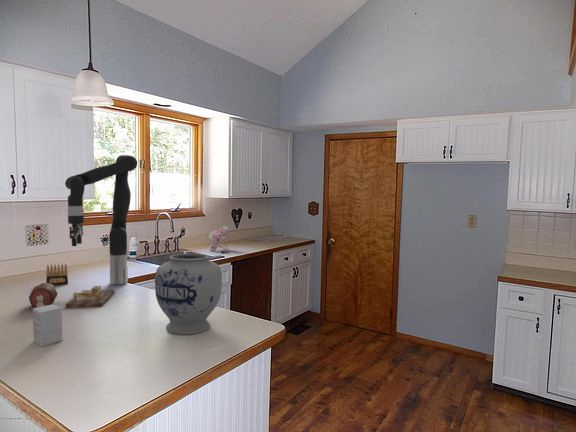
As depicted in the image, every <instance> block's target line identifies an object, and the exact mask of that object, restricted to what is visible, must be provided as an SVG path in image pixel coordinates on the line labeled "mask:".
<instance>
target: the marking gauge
mask: <svg viewBox="0 0 576 432" xmlns="http://www.w3.org/2000/svg"><path fill="white" fill-rule="evenodd" d="M90 290H91V292H81V291H75V292H73V293H72V295H73V297H75V300H77V297H91V301H98V300H99V299H100V298H101V290H102V285H94V286H93V287H91V289H90ZM73 297H72V298H73Z"/></svg>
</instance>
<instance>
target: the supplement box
mask: <svg viewBox="0 0 576 432" xmlns="http://www.w3.org/2000/svg"><path fill="white" fill-rule="evenodd" d="M62 310H63V309H62V308H61V306H59V305H56V304H54V303H53V304H52V305H47V306H42V307H37V308H32V324H33V325H32V327H33V328H32V329H33V331H32V333H33V342H34V343H36V344H37V345H38V346H40V347H44V346H48V345H52V344H56V343H59V342H62V341H63V316H62V315H63V313H62Z"/></svg>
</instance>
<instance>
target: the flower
mask: <svg viewBox="0 0 576 432" xmlns="http://www.w3.org/2000/svg"><path fill="white" fill-rule="evenodd" d="M229 230H230V228H229V226H228V225H227V226H225V225H223V227H222V228H220V229H219V230H213V231H210V232H209V233H208V237H209V239H211V244H210V246H208V251H210V252H213V251H215V252H216V251H217V250H218V248H221V250H220V251H219V253H221V252H222V253H225V252H229V253H231V251H230V250H229V248H228V246H227V244H226V242H225V240H227V238H230V239H231V236H230V235H229V232H228V231H229ZM220 240H221V241H222V242H219V241H220ZM222 243H223V244H224V246H225V247H223V246H222Z"/></svg>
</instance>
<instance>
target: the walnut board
mask: <svg viewBox="0 0 576 432" xmlns="http://www.w3.org/2000/svg"><path fill="white" fill-rule="evenodd" d="M115 291H116V289H101V298H100V299H99V300H98V301H91V297H77V300H75V297H72V298H71V299H69V300H68V301H67V302H65V305H64V306H65V309H73V308H74V309H76V308H79V309H80V308H102V307H104V306H105V304H106V303H107V302H108V301H109V300H110V299H111V298H112V297H113V296H114V295H115ZM80 292H91V289H86V290H85V289H82V290H81V291H80Z"/></svg>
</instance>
